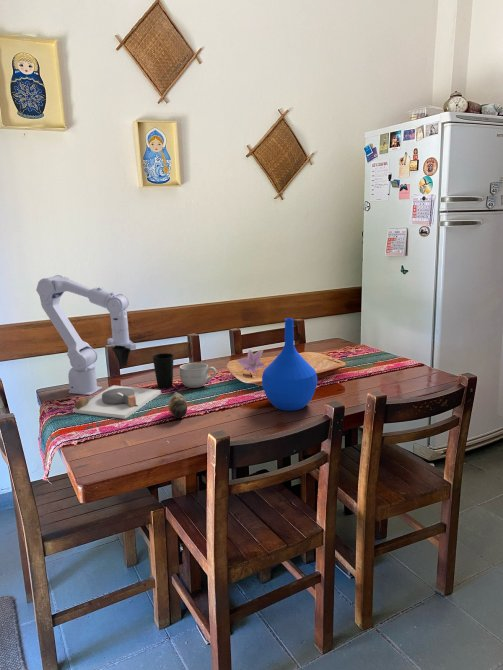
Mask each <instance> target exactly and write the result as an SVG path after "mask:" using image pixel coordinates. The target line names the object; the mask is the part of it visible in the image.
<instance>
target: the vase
mask: <svg viewBox="0 0 503 670" xmlns="http://www.w3.org/2000/svg"><path fill="white" fill-rule="evenodd" d="M294 329H295V328H294V318H292V317H287V318H284V344H283V345H284V346H283V348H282V350H281V351H280V352H279V353H278V355H277V356H276V357H275V358H274V359H273V360H272V361H271V362H270V363H269V364H268V366H267V367H265V368H264V369H263V372H262V377H261V385H262V389H263V391H264V394H265V396H266V398H267V399H268V401H269V403H271V405H272V406H274V407H275V408H276V409H278V410H281V411H288V412H293V411H298V410H302V409H303V408H304V407H306V406H307V405H308V404H309V403H310V402H311V400H312V398H313V397H314V395H315V392H316V389H317V385H318V376H317V371H316V370H315V368H314V367H312V366H311V365H310V363H309V362H307V361H306V360H305V358H304V357H303V356H302V355H301V354H300V353H299V352H298V351H297V349H296V347H295V342H294V341H295V338H294V337H295V335H294V334H295V333H294Z"/></svg>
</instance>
